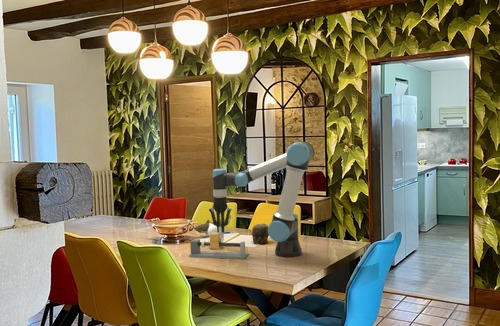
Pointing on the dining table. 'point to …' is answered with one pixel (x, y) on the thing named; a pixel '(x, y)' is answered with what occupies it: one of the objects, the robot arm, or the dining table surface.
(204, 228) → the wood carving
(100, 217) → the dining table surface
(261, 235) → the carved stone head
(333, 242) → the dining table surface
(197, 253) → the slider rail
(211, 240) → the sleeve
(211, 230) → the cat figurine
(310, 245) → the dining table surface
